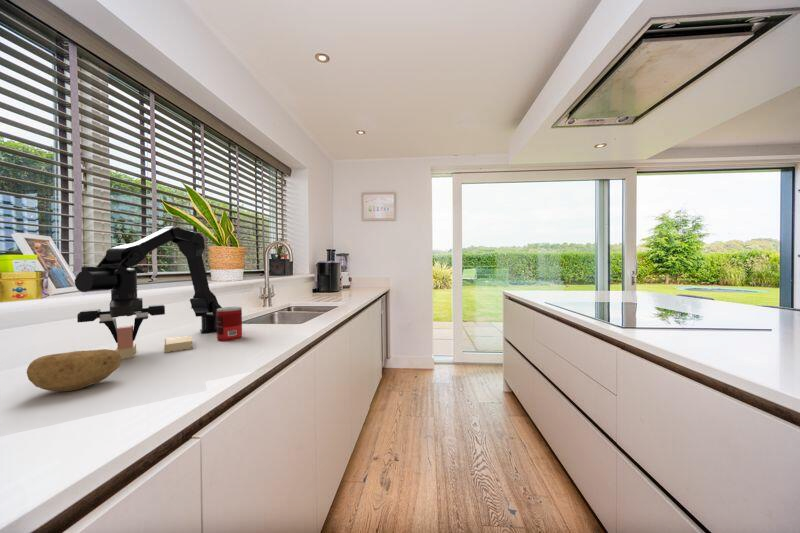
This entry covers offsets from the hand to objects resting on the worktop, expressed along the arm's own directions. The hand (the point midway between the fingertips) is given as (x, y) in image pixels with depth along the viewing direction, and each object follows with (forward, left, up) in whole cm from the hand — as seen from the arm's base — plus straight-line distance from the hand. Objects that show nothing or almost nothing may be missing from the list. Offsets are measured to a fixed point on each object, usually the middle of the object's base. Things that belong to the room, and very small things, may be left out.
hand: (125, 341), depth 89 cm
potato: (+27, -6, -4) cm, 28 cm away
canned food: (-2, +28, -4) cm, 28 cm away
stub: (0, 0, -4) cm, 4 cm away
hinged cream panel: (0, +12, -4) cm, 13 cm away
